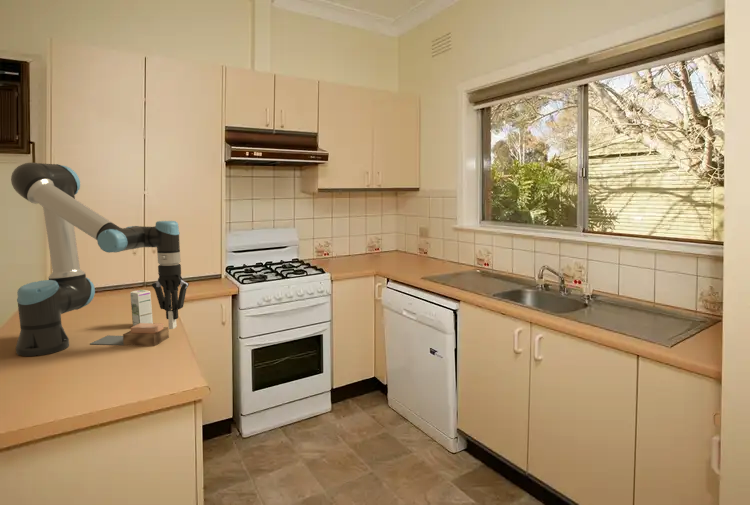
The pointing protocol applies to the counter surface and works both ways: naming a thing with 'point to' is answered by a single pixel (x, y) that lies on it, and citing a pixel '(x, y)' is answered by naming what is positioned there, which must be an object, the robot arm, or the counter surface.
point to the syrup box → (141, 307)
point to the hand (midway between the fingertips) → (172, 327)
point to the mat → (109, 340)
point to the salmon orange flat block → (147, 328)
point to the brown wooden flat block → (145, 338)
